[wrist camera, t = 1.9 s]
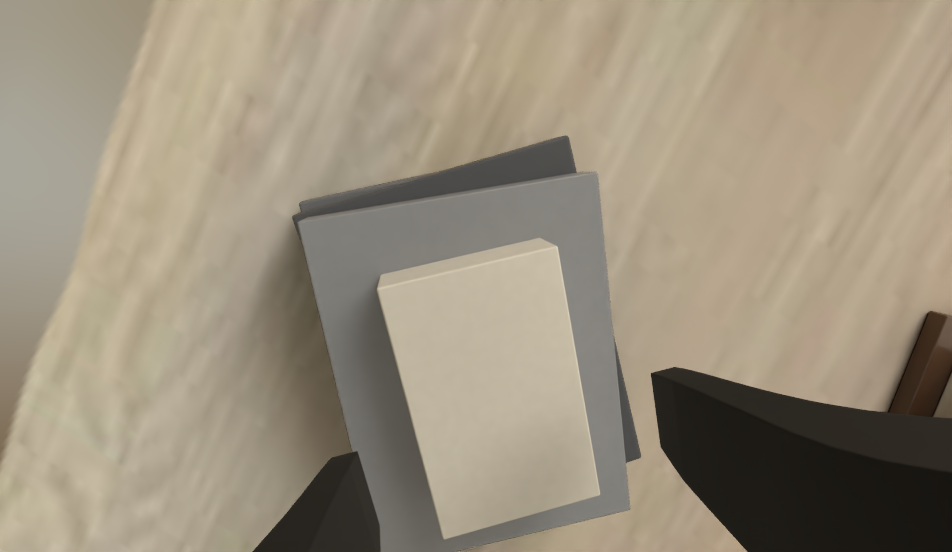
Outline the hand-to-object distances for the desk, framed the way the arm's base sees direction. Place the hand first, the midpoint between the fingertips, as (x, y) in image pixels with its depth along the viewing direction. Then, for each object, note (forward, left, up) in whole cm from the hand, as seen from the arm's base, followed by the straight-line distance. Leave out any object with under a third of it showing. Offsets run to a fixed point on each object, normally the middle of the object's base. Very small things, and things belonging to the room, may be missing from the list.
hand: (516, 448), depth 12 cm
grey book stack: (0, 0, -8) cm, 9 cm away
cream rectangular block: (0, 0, -4) cm, 4 cm away
